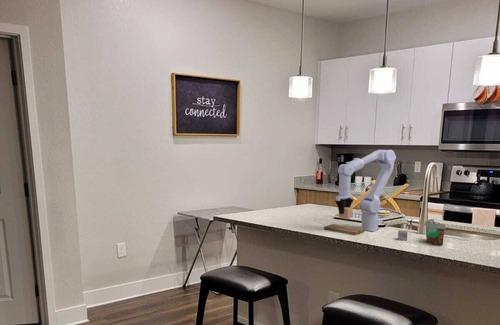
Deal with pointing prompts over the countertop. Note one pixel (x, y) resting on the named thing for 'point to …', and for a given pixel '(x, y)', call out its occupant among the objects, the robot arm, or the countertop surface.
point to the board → (344, 229)
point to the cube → (346, 213)
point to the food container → (434, 232)
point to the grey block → (402, 235)
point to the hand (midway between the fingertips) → (344, 213)
